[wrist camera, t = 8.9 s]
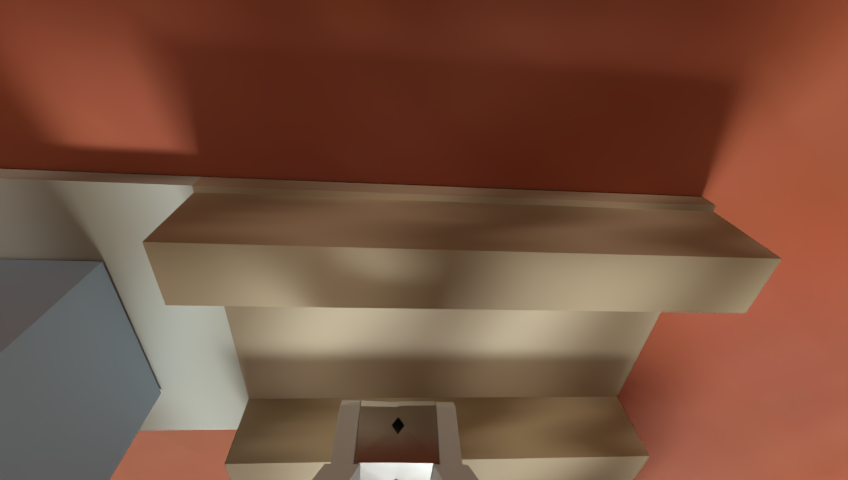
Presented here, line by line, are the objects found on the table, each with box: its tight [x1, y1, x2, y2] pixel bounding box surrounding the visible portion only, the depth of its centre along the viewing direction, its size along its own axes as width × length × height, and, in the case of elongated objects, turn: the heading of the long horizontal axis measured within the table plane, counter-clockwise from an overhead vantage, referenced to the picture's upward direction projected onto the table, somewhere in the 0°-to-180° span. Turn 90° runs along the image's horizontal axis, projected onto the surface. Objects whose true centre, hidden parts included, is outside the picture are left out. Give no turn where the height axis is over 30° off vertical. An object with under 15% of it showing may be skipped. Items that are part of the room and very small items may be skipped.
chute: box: [0, 169, 782, 480], centre depth 13 cm, size 23×11×3 cm, turn 86°
